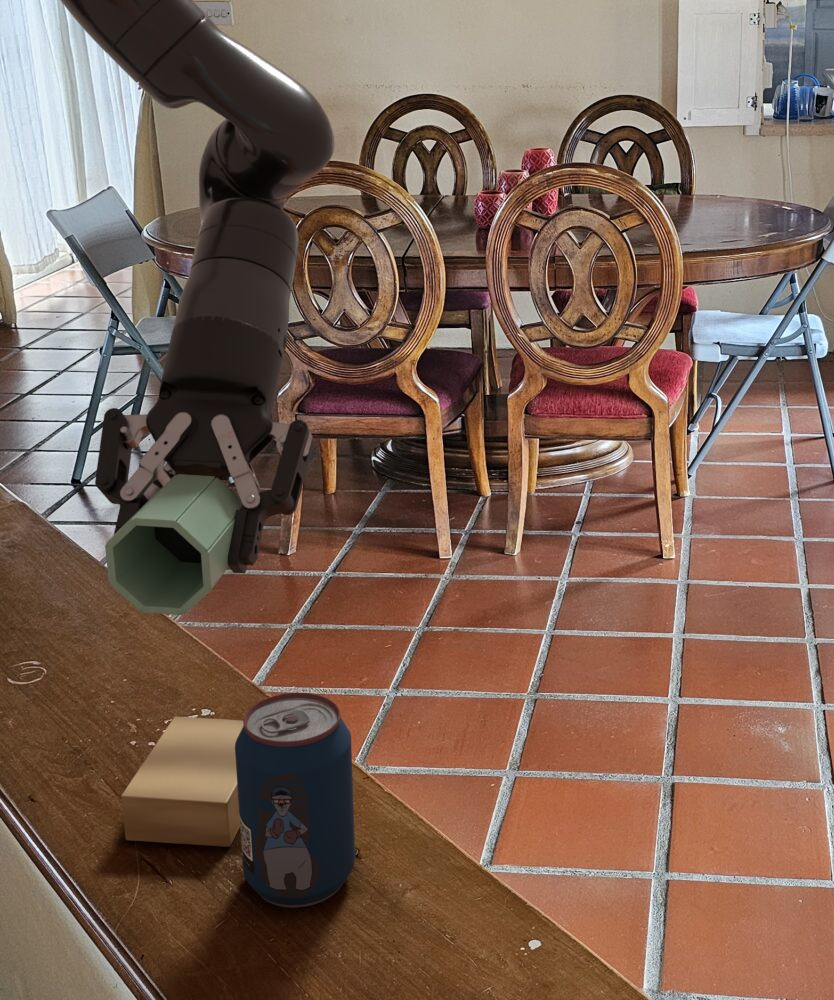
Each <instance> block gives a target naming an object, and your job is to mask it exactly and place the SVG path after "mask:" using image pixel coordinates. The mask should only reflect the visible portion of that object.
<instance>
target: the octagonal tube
mask: <svg viewBox="0 0 834 1000" xmlns="http://www.w3.org/2000/svg"><path fill="white" fill-rule="evenodd" d="M241 508H242V502H241V499H240V497H239V496H238V495H237V494H236V493H235V492H234V490H232V489H231V488H230V487H229V486H228V485H226V484H225V483H224V481H222V480H219V479H218V478H216V479H215V477H214V476H200V475H183V474H177V475H175V476H174V477H172V478H171V479H170V480H169V481H168V482H167V483H166V484H165V485H164V486H163V487H162V488H161V489H160V490H159V491H158V492H157V493H156V494H155V495H154V496H153V497H151V498H150V499H149V500H148V501H147V502H146V503H145V504H144V505H143V506H142V507H141V508H140V509H139V510H138V511H137V512H136V513H135V514H134V515H133V516H132V517H131V518H130V519H129V520H128V521H127V522H126V523H125V524H124V525H123V526H122V527H121V528H120V529H119V530H118V531H117V532H116V533H115V534H114V533H113V535H112V536H111V537H110V538H109V539H108V540H107V542H105V545H104V549H105V558H106V559H105V561H106V570H107V579H108V583H109V585H110V586H111V587H112V588H113V589H114V590H116V591H117V592H118V594H120V595H121V596H122V597H123V598H124V599H125V600H127V601H128V602H129V603H130V604H131V605H132V606H133V607H134V608H135V609H137V610H138V611H139V612H142V613H143V614H154V615H155V614H156V615H157V614H158V615H171V616H173V615H174V616H183V615H186V614H187V613H188V612H189V611H190V610H191V609H193V608H194V607H195V606H196V605H197V604H198V603H199V602H200V601H201V600H202V599H204V597H206V596H207V595H208V594H209V593H210V592H211V591H212V590H213V588H214V587H215V586H216V584H218V582H219V580H220V579H221V578H222V576H223V575H224V573H226V571H227V569H228V568H229V566H228V553H229V548H230V543H231V538H232V532H233V527H234V522H235V515H236V510H241Z"/></svg>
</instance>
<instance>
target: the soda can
mask: <svg viewBox="0 0 834 1000" xmlns="http://www.w3.org/2000/svg"><path fill="white" fill-rule="evenodd" d="M341 715H342V714H341V709H340V707H339V706H338V705H337V704H336V703H335V702H334V701H333V700H332V699H330V698H327V697H325V696H323V695H320V694H316V693H311V692H310V693H309V692H298V691H297V692H286V693H280V694H275V695H272V696H269V697H267V698H264V699H262V700H260V701H258V702H257V703H255V704H254V705H252V706H251V707H250V708H249V709H248V710H247V711H246V713H245V715H244V717H243V720H242V721H243V725H244V726H243V728H242V730H241V732H240V734H239V736H238V738H237V740H236V743H235V757H236V772H237V786H238V801H239V816H240V828H239V830H240V843H241V857H242V871H243V875H244V878H245V879H246V881H247V883H248V884H249V885H250V887H251V888H252V890H254V891H255V892H256V893H257V894H258V895H259V896H260V897H261V898H262V899H263V900H265V901H266V902H267V903H269V904H272V905H275V906H278V907H282V908H290V909H291V908H295V909H296V908H305V907H311V906H314V905H317V904H319V903H323V902H324V901H327V900H329V899H330V898H331V897H333V896H334V895H335V894H336V893H338V891H339V890H340V889H341V888H342V886H343V885H344V883H345V882H346V881H347V879H348V877H349V876H350V874H351V873H352V871H353V868H354V866H355V861H356V842H355V841H356V839H355V836H356V835H355V813H354V812H355V811H354V810H355V807H354V783H353V782H354V781H353V751H352V749H353V748H352V734H351V731H350V729H349V727H348V726H347V724H346V723H345V721H344V720H343V718H342V716H341Z"/></svg>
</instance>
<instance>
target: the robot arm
mask: <svg viewBox="0 0 834 1000" xmlns="http://www.w3.org/2000/svg"><path fill="white" fill-rule="evenodd" d="M60 2H61V3H62V5H63V6H64V7H65V8H66V10H67V11H68V12H69V14H70V15H71V16H72V17H73V19H74V20H75V21H76V22H77V23H78V25H80V27H81V28H82V29H83V31H85V32H86V33H87V35H88V36H89V37H90V38H91V39H92V40H93V41H94V42H95V43H96V44H97V45H98V47H100V48H101V49H102V50H103V51H104V52H105V53H106V55H108V56H109V57H110V58H111V59H112V60H113V61H114V62H115V64H117V66H118V67H120V68H121V69H122V71H124V72H125V73H126V74H127V75H128V76H129V77H130V78H131V79H132V80H133V81H134V82H135V83H138V86H139V87H140V88H141V89H142V91H144V92H145V93H146V94H147V95H148V96H149V97H150V98H151V99H152V100H154V101H155V102H156V103H157V104H159V105H160V106H162V107H163V108H166V109H169V110H170V109H172V110H173V109H174V110H175V109H179V108H183V107H185V106H188V105H190V104H193V103H198V104H201V105H203V106H205V107H206V108H208V109H210V110H212V111H213V112H215V113H217V114H218V115H219V116H221V117H222V118H223V119H224V120H223V121H222V122H221V123H220V124H218V125H217V126H216V128H215V129H214V130H213V131H212V133H211V134H210V136H209V137H208V139H207V142H206V144H205V147H204V149H203V151H202V155H201V159H200V163H199V167H198V168H199V169H198V207H199V217H200V228H199V231H198V235H197V239H196V242H195V247H194V252H193V256H192V260H191V265H190V270H189V274H188V275H187V276H188V277H187V280H186V282H185V285H184V286H183V289H182V291H181V294H180V298H179V301H178V305H177V309H176V313H175V318H174V322H173V327H172V331H171V335H170V339H169V344H168V348H167V352H166V356H165V357H166V358H165V362H164V366H163V370H162V374H161V380H160V384H159V392H158V397H157V400H156V402H155V404H154V405H153V406H152V407H151V408H150V409H149V411H148V412H147V413H146V414H144V413H143V414H124V413H123V412H122V411H121V409H120V408H117V407H112V408H109V409H107V410H106V411H105V412H104V415H103V422H102V428H101V436H100V442H99V451H98V458H97V465H96V473H95V480H94V484H95V487H96V488H97V489H98V490H99V491H100V493H101V494H102V495H103V496H104V498H106V499H107V501H108V502H110V504H113V505H119V510H118V513H117V517H116V523H115V527H114V531H113V535H114V534H115V533H116V532H117V531H118V530H119V529H120V528H121V527H122V526H123V525H124V524H125V523H126V522H127V521H128V520H129V519H130V518H131V517H132V516H133V515H134V514H135V513H136V512H137V511H138V510H139V509H140V508H141V507H142V506H143V505H144V504H145V503H146V502H147V501H148V500H149V499H150V498H151V497H153V496H154V495H155V494H156V493H157V492H158V491H159V490H160V489H161V488H162V487H163V486H164V485H165V484H166V483H167V482H168V481H169V480H170V479H171V478H172V477H174V476H175V475H177V474H183V475H200V476H214V477H215V479H216V478H218V479H219V480H220V481H229V480H230V478H231V479H232V481H233V484H234V486H235V488H236V492H237V494H238V498H239V499H240V500H241V502H242V508H241V510H236V515H235V522H234V527H233V532H232V538H231V543H230V548H229V553H228V566H229V567H228V568H229V569H230V571H231V572H232V573H233V574H243V575H244V574H246V572H247V569H248V566H254V565H255V564H256V562H257V560H258V558H259V552H260V546H261V541H262V536H263V530H264V525H265V522H266V521H267V520H268V519H269V518H271V517H273V516H276V515H280V514H282V515H284V516H290V515H293V514H295V512H296V510H297V508H298V504H299V502H300V497H301V493H302V490H303V487H304V483H305V480H306V476H307V472H308V469H309V466H310V465H309V464H310V462H311V458H312V454H313V451H314V447H315V440H314V437H313V433H312V432H311V430H310V428H309V427H308V424H307V423H306V421H304V420H303V419H295V420H293V421H292V422H291V423H290V424H289V423H282V422H277V421H274V420H273V416H272V415H273V409H274V404H275V399H276V394H277V389H278V384H279V378H280V372H281V368H282V362H283V356H284V352H285V350H286V348H287V344H288V330H289V323H290V301H291V295H292V289H293V284H294V279H295V273H296V268H297V262H298V255H299V248H300V247H299V244H300V236H299V231H298V228H297V225H296V223H295V221H294V220H293V218H292V217H291V216H290V214H289V213H288V212H286V211H285V210H284V206H285V203H286V201H287V199H288V198H289V197H290V196H291V195H292V194H293V193H295V191H297V190H299V189H300V188H301V187H302V186H303V185H304V184H307V182H309V181H310V180H311V179H312V178H314V177H315V176H317V175H318V174H319V173H320V172H321V171H323V170H324V169H325V168H326V167H327V165H328V164H329V162H330V161H331V159H332V157H333V155H334V150H335V134H334V130H333V126H332V123H331V121H330V119H329V117H328V115H327V113H326V111H325V109H324V108H323V106H322V105H321V103H320V102H319V101H318V99H317V98H316V97H315V96H314V95H313V93H311V92H310V90H308V89H307V88H306V87H305V86H304V85H303V84H301V83H300V82H299V81H298V80H296V79H295V78H293V76H290V75H289V74H288V73H286V72H285V71H283V70H282V69H280V68H279V67H277V66H276V65H274V64H273V63H271V62H270V61H268V60H267V59H265V58H264V57H262V56H261V55H259V54H258V53H256V52H255V51H254V50H252V49H251V48H249V47H248V46H246V45H244V44H243V43H241V42H240V41H238V40H237V39H234V38H233V37H231V36H230V35H228V34H227V33H225V32H224V31H223V30H222V29H220V28H219V27H218V25H216V23H215V22H214V21H213V20H212V19H211V18H210V17H209V16H207V14H206V12H205V11H204V10H203V9H202V8H201V7H200V6H199V5H198V4H197V3H196V2H195V1H194V0H60ZM146 434H150V435H151V437H152V439H153V441H154V443H153V444H152V445H151V447H150V448H149V449H148V450H147V451H146V453H145V454H144V455H143V456H142V458H141V459H140V460H139V463H138V468H137V469H136V470H135V471H134V473H133V474H132V475H131V476H130V475H129V474H130V466H131V460H132V459H131V458H132V451H133V448H134V449H136V448H138V447H139V444H140V442H141V440H142V438H143V436H144V435H146ZM273 441H275V445H276V446H275V447H276V449H277V451H278V453H279V455H280V458H279V461H278V464H277V468H276V471H275V475H274V478H273V482H272V485H271V489H266V490H263V491H262V490H261V486H260V483H259V481H258V479H257V476H256V473H255V470H254V468H253V465H252V462H253V461H254V460H255V459H256V458H257V457H258V456H259V455H260V454H261V453H262V452H263V451H264V450H265V449H266V448H267V447H269V445H270V444H271V443H272V442H273ZM129 476H130V478H129Z"/></svg>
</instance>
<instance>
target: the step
mask: <svg viewBox="0 0 834 1000" xmlns="http://www.w3.org/2000/svg"><path fill="white" fill-rule="evenodd" d="M243 721H244V720H239V719H225V718H223V719H222V718H207V717H194V716H191V717H190V716H174V717H173V718H172V720H171V721H170V723H169V724H168V726H167V727H166V729H165V730H164V732H163V733H162V734H161V736H160V737H159V739H158V741H157V742H156V744H155V745H154V746H153V748H152V749H151V751H150V752H149V754H148V755H147V757H146V758H145V760H144V761H143V763H142V764H141V766H140V767H139V769H138V770H137V772H136V773H135V775H133V778H131V780H130V782H129V783H128V785H127V786H126V788H125V789H124V791H123V792H122V794H121V795H120V801H121V811H122V818H123V826H124V838H125V841H133V842H147V843H149V842H150V843H163V844H177V845H178V844H180V845H191V846H192V845H194V846H207V847H208V846H211V847H225V848H230V847H231V846H232V844H233V841H234V840H235V838H236V835H237V834H238V832H239V830H240V816H239V801H238V786H237V772H236V757H235V743H236V740H237V738H238V736H239V734H240V732H241V730H242V728H243V726H244V725H243Z"/></svg>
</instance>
